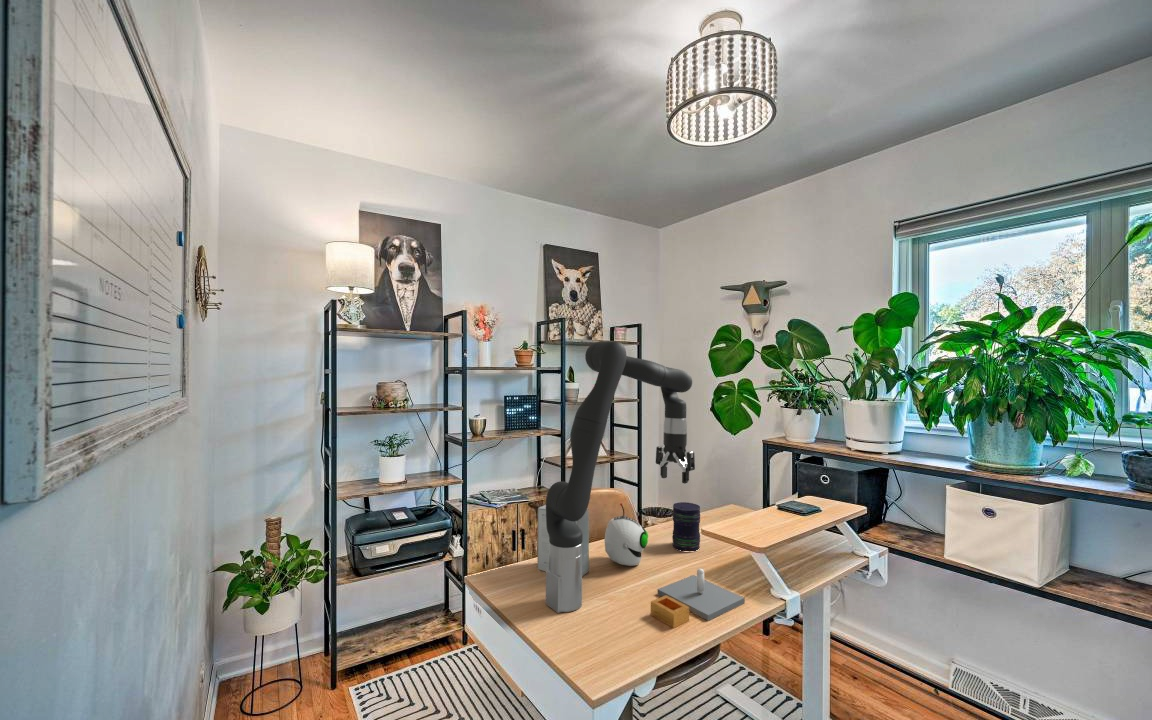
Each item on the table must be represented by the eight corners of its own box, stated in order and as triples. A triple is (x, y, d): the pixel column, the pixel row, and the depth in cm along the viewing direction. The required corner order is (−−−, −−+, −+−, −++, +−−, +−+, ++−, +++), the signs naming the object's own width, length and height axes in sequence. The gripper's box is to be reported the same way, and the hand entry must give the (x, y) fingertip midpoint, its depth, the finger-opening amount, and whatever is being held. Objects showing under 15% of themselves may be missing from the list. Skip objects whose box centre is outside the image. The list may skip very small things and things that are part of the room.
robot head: (646, 576, 153) (647, 512, 153) (601, 572, 155) (601, 509, 155) (648, 556, 169) (648, 498, 169) (606, 552, 171) (607, 495, 171)
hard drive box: (589, 571, 156) (590, 509, 156) (577, 581, 149) (578, 515, 149) (549, 561, 164) (549, 501, 164) (536, 569, 157) (536, 507, 157)
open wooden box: (673, 628, 123) (673, 613, 123) (650, 614, 129) (650, 601, 129) (689, 620, 127) (689, 607, 127) (666, 608, 133) (666, 595, 133)
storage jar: (683, 540, 184) (684, 500, 184) (705, 548, 177) (706, 506, 177) (666, 546, 178) (667, 505, 178) (688, 554, 170) (689, 512, 170)
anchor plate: (708, 621, 127) (708, 588, 127) (657, 594, 141) (657, 564, 141) (744, 603, 136) (744, 572, 136) (693, 579, 151) (693, 552, 151)
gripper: (651, 429, 164) (650, 478, 164) (686, 434, 153) (685, 486, 153) (665, 428, 169) (664, 475, 168) (700, 433, 158) (699, 483, 158)
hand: (674, 480), depth 161 cm, fingers open, 8 cm apart
